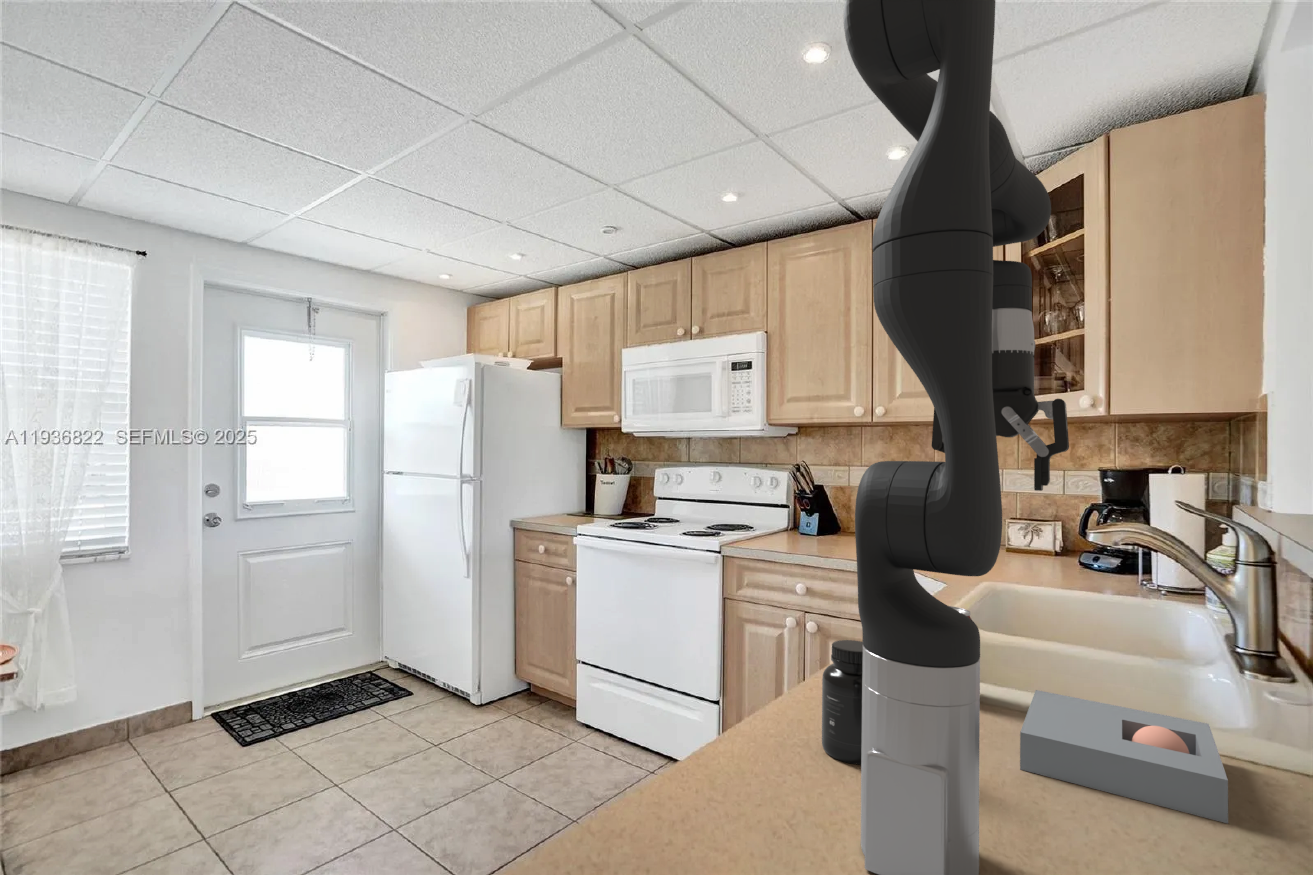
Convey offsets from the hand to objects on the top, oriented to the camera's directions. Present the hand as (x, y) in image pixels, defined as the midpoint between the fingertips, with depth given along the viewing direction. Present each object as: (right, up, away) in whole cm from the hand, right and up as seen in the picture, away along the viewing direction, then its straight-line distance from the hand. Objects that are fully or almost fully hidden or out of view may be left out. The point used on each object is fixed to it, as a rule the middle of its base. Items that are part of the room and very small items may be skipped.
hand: (997, 488), depth 77 cm
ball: (+14, -28, -7) cm, 32 cm away
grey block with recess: (+11, -30, -5) cm, 32 cm away
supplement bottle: (-18, -30, -3) cm, 35 cm away
